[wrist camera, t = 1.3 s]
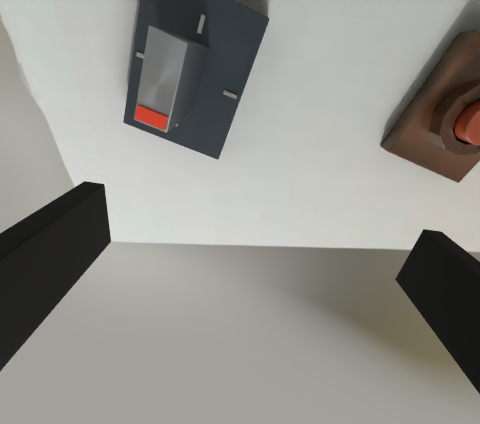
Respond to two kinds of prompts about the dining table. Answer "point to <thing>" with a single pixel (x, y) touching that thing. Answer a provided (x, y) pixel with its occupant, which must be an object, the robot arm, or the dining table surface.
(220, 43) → the panel
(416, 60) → the dining table surface
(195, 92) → the tap handle
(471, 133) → the button
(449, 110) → the button block
